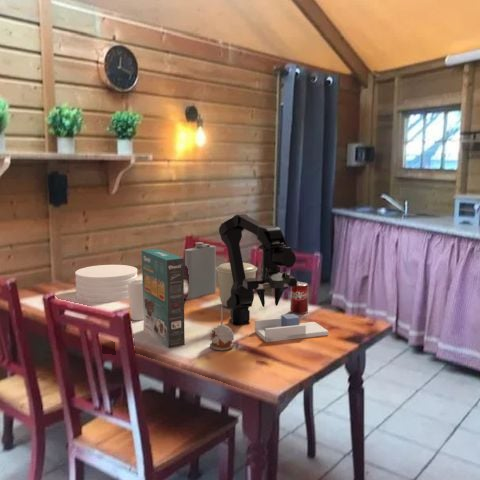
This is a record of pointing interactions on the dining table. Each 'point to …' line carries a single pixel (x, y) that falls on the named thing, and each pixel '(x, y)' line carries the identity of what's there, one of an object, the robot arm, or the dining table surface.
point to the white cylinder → (136, 299)
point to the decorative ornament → (221, 336)
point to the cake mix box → (163, 296)
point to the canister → (231, 279)
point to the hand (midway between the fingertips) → (269, 306)
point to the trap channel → (286, 330)
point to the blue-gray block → (289, 320)
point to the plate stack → (104, 282)
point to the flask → (201, 270)
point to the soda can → (299, 298)
